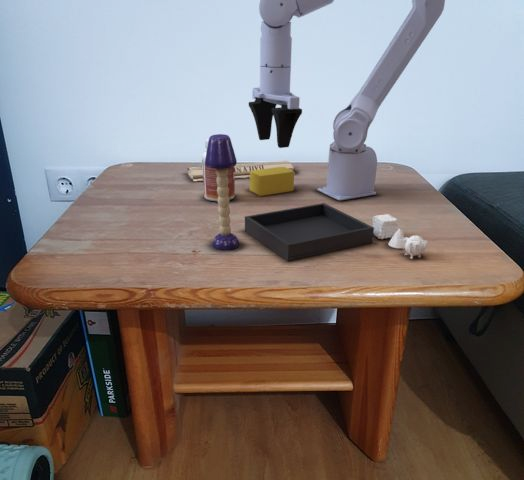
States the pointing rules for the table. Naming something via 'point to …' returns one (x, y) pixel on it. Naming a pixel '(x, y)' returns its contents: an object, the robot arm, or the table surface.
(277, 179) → the sponge
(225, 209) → the toy lamp
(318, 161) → the table surface
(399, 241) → the game pieces
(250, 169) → the newspaper
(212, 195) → the pill bottle
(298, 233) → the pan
